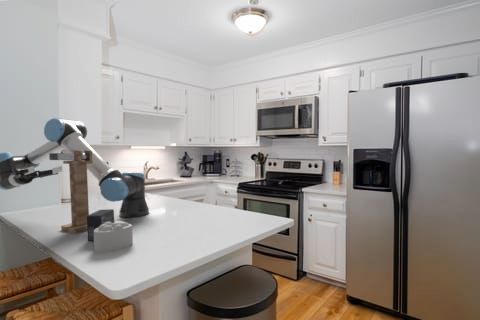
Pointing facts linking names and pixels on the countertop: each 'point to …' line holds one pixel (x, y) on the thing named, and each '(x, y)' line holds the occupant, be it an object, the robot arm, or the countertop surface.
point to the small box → (98, 221)
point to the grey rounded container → (112, 236)
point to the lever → (66, 156)
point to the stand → (78, 192)
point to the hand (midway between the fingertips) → (48, 168)
